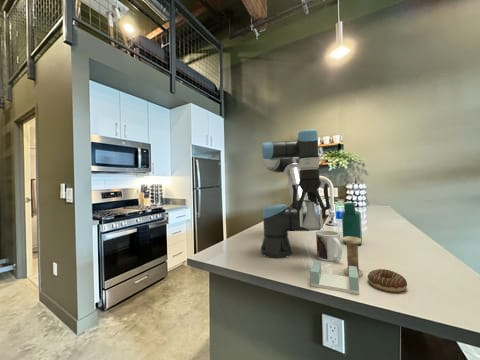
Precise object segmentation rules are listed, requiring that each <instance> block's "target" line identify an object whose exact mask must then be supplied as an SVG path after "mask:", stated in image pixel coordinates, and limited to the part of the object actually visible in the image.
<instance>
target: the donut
mask: <svg viewBox="0 0 480 360" xmlns="http://www.w3.org/2000/svg"><path fill="white" fill-rule="evenodd" d="M367 279H368V282H369V283H370V284H371V285H372V286H374V287H375V288H377V289H379V290H381V291H385V292H391V293H398V292H399V293H400V292H402V291H405V290H406V289H407V286H408V282H407V279H406V278H405V277H404V276H403V275H402V274H399V273H398V272H396V271H392V270H389V269H385V268H384V269H382V268H378V269H372V270H371V271H369V272H368V274H367Z"/></svg>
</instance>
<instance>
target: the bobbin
mask: <svg viewBox="0 0 480 360" xmlns="http://www.w3.org/2000/svg"><path fill="white" fill-rule="evenodd" d="M343 241H344V242H346V243H347V244H346V258H347V259H346V260H347V267H345V268H344V269H343V270H344V274H345V275H346V276H347V277H349V266H355V267H357V272H358V278H361V277H363V275H364V274H363V273H364V272H363V270H361V269H360V266H359V247H358V243H361V239H360V238H358V237H352V236H346V237H343V236H342V242H343Z"/></svg>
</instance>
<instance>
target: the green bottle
mask: <svg viewBox="0 0 480 360" xmlns="http://www.w3.org/2000/svg"><path fill="white" fill-rule="evenodd" d="M343 204H344V205H343V206H344V207H343V208H344V209H343V210H344V211H343V212H342V213H341V223H342V225H341V226H342V227H341V229H342V238H343V237H346V236H352V237H358V238H360V239H361V243H358V246H362V244H363V233H362V229H363V227H362V213H361V212H360V211H358V210H356V205H357V203H356V202H346V203H345V202H344V203H343ZM342 243H343V244H344V245H347V243H346V242H344V241H343V240H342Z"/></svg>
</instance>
